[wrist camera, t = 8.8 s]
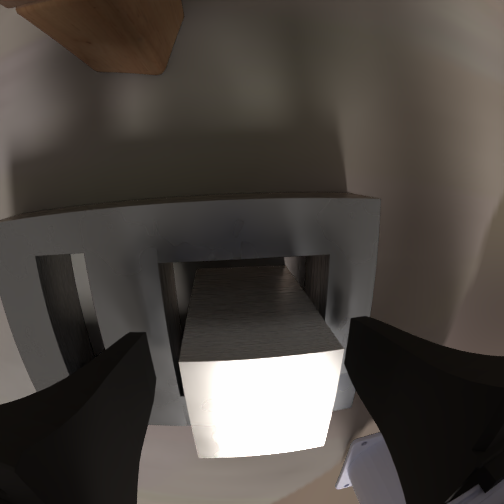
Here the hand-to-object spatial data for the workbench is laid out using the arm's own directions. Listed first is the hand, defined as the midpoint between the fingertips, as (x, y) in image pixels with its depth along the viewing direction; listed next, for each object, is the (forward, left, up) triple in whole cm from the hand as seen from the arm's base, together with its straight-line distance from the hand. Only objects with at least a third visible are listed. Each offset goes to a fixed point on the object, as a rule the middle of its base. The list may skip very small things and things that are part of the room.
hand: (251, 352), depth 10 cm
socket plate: (+3, 0, -4) cm, 5 cm away
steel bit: (0, 0, -4) cm, 4 cm away
